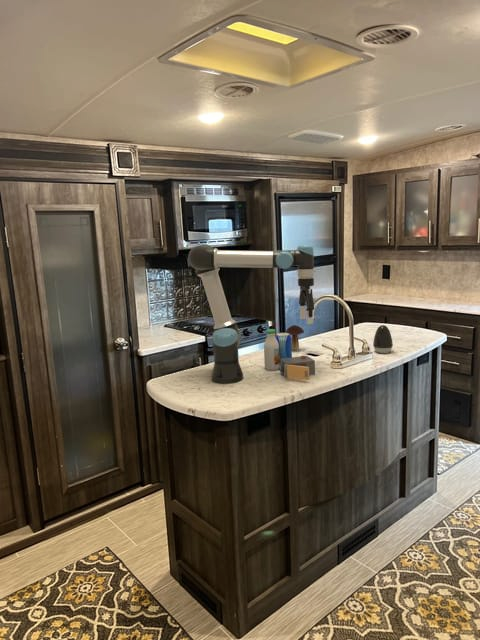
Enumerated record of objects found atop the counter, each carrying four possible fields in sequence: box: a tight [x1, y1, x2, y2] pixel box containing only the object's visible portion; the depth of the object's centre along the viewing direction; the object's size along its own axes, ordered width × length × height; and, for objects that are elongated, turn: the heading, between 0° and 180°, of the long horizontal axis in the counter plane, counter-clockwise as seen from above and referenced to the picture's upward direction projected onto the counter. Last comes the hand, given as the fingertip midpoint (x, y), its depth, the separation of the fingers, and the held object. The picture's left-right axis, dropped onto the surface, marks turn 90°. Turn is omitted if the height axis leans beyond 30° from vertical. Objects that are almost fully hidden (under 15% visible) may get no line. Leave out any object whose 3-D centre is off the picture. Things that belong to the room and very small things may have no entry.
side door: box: [283, 364, 310, 381], centre depth 214 cm, size 12×2×6 cm, turn 59°
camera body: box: [278, 355, 316, 376], centre depth 225 cm, size 15×10×8 cm, turn 104°
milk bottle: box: [263, 328, 280, 371], centre depth 235 cm, size 8×8×20 cm
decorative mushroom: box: [284, 324, 305, 352], centre depth 268 cm, size 11×11×15 cm
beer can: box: [275, 332, 293, 359], centre depth 242 cm, size 8×8×16 cm
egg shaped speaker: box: [372, 324, 394, 354], centre depth 254 cm, size 10×10×15 cm
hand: (306, 321), depth 228 cm, fingers open, 13 cm apart
